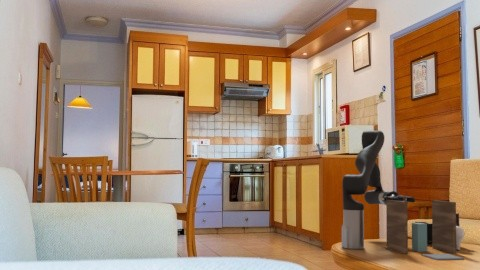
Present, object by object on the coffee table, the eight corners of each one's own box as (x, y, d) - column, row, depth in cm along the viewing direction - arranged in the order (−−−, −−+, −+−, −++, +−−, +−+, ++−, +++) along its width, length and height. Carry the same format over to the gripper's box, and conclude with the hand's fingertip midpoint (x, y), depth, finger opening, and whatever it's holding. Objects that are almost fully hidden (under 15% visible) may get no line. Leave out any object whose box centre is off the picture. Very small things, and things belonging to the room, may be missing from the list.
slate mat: (436, 260, 200) (436, 258, 200) (421, 255, 211) (421, 254, 211) (463, 259, 203) (463, 258, 203) (447, 255, 213) (447, 253, 213)
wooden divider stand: (404, 254, 214) (404, 201, 216) (386, 248, 230) (386, 199, 232) (456, 253, 219) (455, 202, 221) (435, 248, 235) (434, 200, 237)
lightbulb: (464, 250, 230) (463, 225, 231) (465, 252, 224) (465, 226, 225) (449, 249, 232) (448, 224, 233) (450, 251, 226) (449, 226, 227)
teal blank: (417, 251, 223) (417, 224, 224) (411, 249, 228) (411, 222, 229) (427, 251, 224) (426, 224, 225) (421, 249, 228) (420, 222, 229)
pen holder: (415, 243, 249) (415, 223, 250) (413, 241, 258) (413, 221, 259) (436, 244, 247) (435, 224, 248) (433, 242, 256) (433, 222, 257)
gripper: (375, 190, 254) (391, 192, 238) (402, 190, 257) (419, 192, 241) (375, 205, 253) (391, 208, 237) (402, 205, 256) (419, 208, 240)
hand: (405, 200), depth 239 cm, fingers open, 8 cm apart
